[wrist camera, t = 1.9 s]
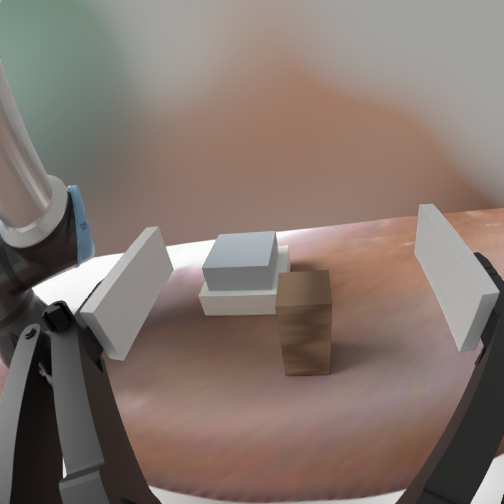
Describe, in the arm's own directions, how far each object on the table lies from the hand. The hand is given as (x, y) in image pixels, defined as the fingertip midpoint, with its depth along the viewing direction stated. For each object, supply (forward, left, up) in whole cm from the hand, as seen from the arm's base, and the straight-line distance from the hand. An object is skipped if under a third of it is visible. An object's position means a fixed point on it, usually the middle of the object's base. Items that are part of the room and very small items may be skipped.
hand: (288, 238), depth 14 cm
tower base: (-9, +24, -22) cm, 34 cm away
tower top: (-9, +23, -18) cm, 31 cm away
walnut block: (0, +10, -22) cm, 24 cm away
